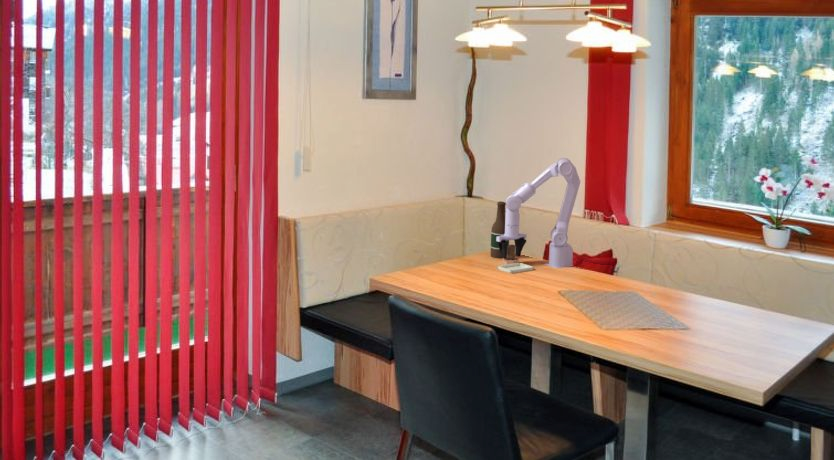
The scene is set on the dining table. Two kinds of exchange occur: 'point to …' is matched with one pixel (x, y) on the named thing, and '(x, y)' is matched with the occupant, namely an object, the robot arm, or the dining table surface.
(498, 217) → the beer bottle
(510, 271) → the tray
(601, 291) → the dining table surface
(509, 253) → the peg
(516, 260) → the holder
